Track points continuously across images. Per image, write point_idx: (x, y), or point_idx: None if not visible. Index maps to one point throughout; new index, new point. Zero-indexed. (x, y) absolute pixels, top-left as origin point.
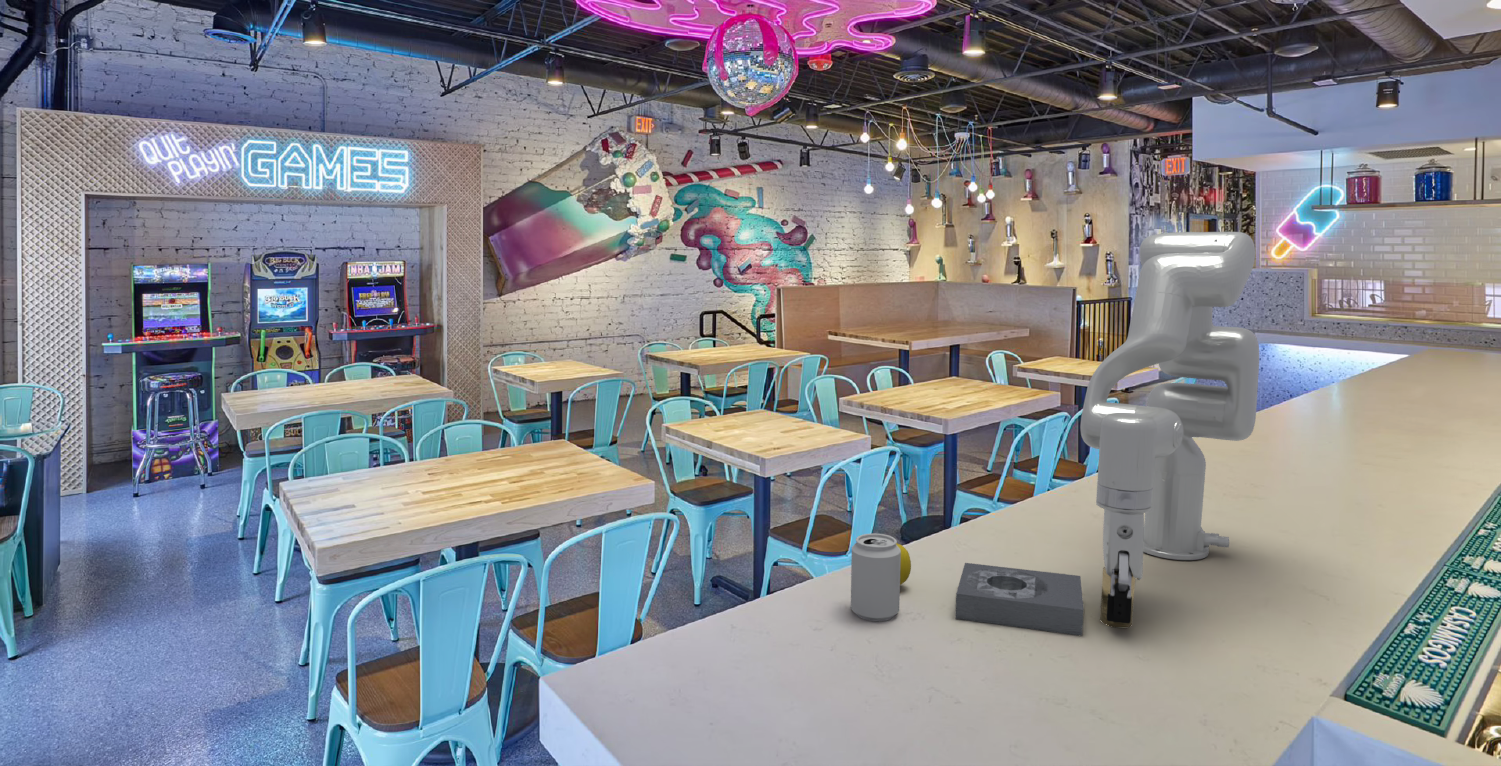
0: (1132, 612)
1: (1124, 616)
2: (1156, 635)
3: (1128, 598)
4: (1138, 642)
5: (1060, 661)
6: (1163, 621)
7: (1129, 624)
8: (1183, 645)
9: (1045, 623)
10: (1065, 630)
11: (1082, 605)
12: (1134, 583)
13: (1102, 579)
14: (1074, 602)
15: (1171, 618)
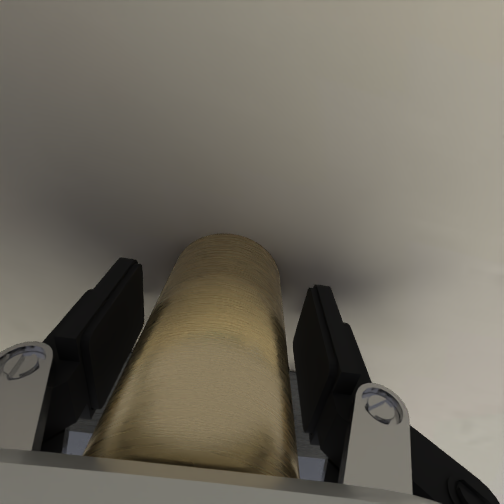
0: (251, 268)
1: (349, 328)
2: (333, 170)
3: (382, 394)
4: (397, 251)
5: (490, 432)
6: (172, 93)
7: (266, 255)
8: (437, 75)
9: None
10: None
11: None
12: (243, 387)
13: None
14: (312, 473)
15: (118, 35)
